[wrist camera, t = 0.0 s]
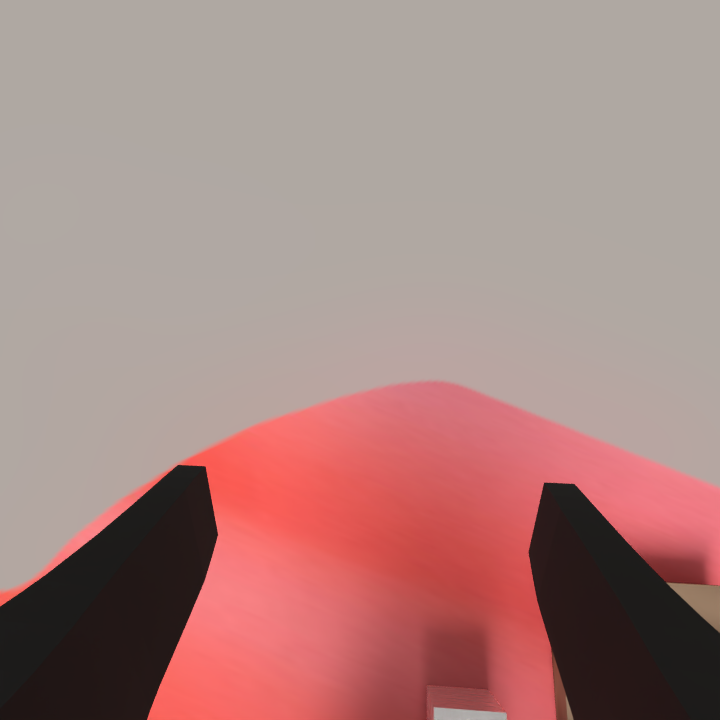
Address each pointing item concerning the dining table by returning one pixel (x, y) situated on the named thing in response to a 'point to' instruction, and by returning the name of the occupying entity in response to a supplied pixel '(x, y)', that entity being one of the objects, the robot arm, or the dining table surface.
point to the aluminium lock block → (462, 704)
